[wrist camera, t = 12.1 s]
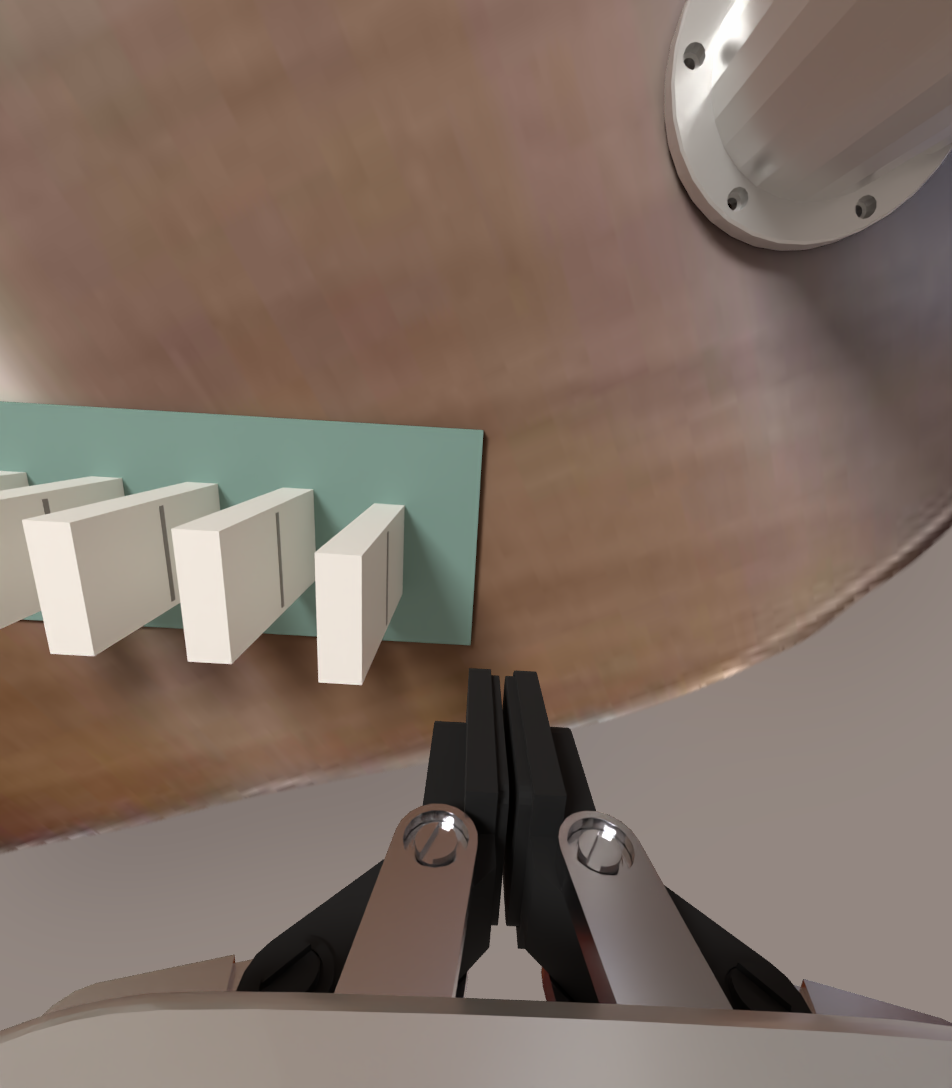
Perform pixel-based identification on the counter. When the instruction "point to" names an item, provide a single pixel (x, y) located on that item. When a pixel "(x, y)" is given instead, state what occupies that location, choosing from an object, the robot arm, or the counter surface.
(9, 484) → the domino
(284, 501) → the domino
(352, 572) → the domino
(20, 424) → the runner mat
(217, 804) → the counter surface
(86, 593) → the domino
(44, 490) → the domino
